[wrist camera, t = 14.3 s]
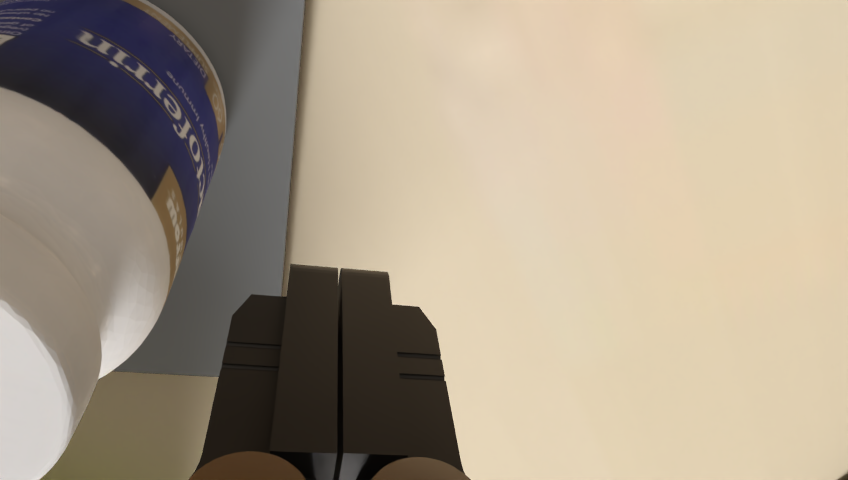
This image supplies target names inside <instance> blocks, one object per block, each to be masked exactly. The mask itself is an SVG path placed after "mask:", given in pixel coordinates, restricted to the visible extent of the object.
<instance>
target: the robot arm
mask: <svg viewBox="0 0 848 480" xmlns="http://www.w3.org/2000/svg"><path fill="white" fill-rule="evenodd" d="M440 356H441V354H440V348H439V343H438V338H437V332H436V329H435V328H434V326H433V325H432V324H431V322H430V321H429V320H428V318H427V317H426V316H425V314H424V313H423V312H422V310H421V309H420V308H419V307H415V306H402V305H392V300H391V291H390V282H389V275H388V272H379V271H368V270H356V269H344V268H341V271H340V276H339V283H338V268H331V267H319V266H307V265H296V264H290V273H289V282H288V291H287V297H282V296H269V295H256V294H251V295H250V296H249V298H248V299H247V300H246V301H245V302H244V303H243V304H242V305H241V306H240V307H239V308H238V310H237V311H236V312H235V313H234V314H233V315H232V319H231V323H230V328H229V333H228V337H227V343H226V347H225V351H224V356H223V360H222V367H221V370H220V374H219V379H218V383H217V388H216V393H215V397H214V402H213V407H212V411H211V416H210V420H209V425H208V430H207V434H206V439H205V444H204V448H203V453H202V456H201V459H200V462H199V464H198V466H197V468H196V470H195V472H194V473H193V475H192V476H191V477H190V478H189V480H470V479H469V478H468V477H467V476H466V475H465V473H464V471H463V468H462V464H461V460H460V455H459V450H458V444H457V439H456V434H455V428H454V423H453V418H452V412H451V407H450V402H449V396H448V391H447V386H446V381H444V376H445V375H444V370H443V364H442V360H440Z"/></svg>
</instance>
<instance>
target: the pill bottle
mask: <svg viewBox="0 0 848 480" xmlns="http://www.w3.org/2000/svg"><path fill="white" fill-rule="evenodd" d="M225 133H226V106H225V99H224V94H223V90H222V87H221V83H220V81H219V78H218V76H217V74H216V71H215V69H214V67H213V65H212V64H211V62H210V60H209V58H208V57H207V55H206V54H205V52H204V51H203V49H202V48H201V47H200V45H199V44H198V43H197V42H196V40H195V39H194V38H193V37H192V36H191V35H190V34H189V33H188V32H187V31H186V30H185V29H184V27H183V26H182V25H180V24H179V23H178V22H177V21H176V20H175V19H173V18H172V17H171V16H170V15H168V14H167V13H166V12H164V11H163V10H161V9H160V8H158V7H157V6H155V5H154V4H152V3H150V2H149V1H147V0H4V1H2V2H0V480H39V479H41V478H42V477H43V476H44V475H45V474H46V473H47V472H48V471H49V470H50V469H51V468H52V467H53V466H54V465H55V464H56V462H57V461H58V460H59V458H60V457H61V455H62V454H63V452H64V451H65V449H66V448H67V446H68V444H69V442H70V440H71V438H72V436H73V434H74V432H75V430H76V428H77V426H78V424H79V422H80V420H81V418H82V416H83V414H84V412H85V410H86V408H87V406H88V403H89V401H90V399H91V396H92V394H93V391H94V389H95V386H96V384H97V382H98V379H100V378H102V377H103V376H105V375H107V374H108V373H109V372H111V371H112V370H114V369H115V368H116V367H118V366H119V365H120V364H122V363H123V362H124V361H126V360H127V359H128V358H129V357H130V356H131V355H132V354H133V353H134V352H135V351H136V350H137V349H138V347H139V346H140V345H141V344H142V343H143V341H144V340H145V338H146V337H147V336H148V334H149V333H150V331H151V330H152V328H153V327H154V325H155V323H156V321H157V320H158V317H159V315H160V313H161V311H162V309H163V306H164V304H165V302H166V299H167V297H168V294H169V292H170V289H171V286H172V284H173V281H174V278H175V276H176V273H177V270H178V268H179V265H180V262H181V260H182V257H183V254H184V251H185V249H186V246H187V243H188V241H189V238H190V235H191V233H192V231H193V228H194V225H195V222H196V220H197V217H198V214H199V212H200V209H201V206H202V203H203V201H204V198H205V195H206V193H207V190H208V187H209V184H210V182H211V179H212V177H213V174H214V172H215V169H216V166H217V163H218V161H219V158H220V155H221V151H222V148H223V143H224V138H225Z"/></svg>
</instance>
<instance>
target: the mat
mask: <svg viewBox="0 0 848 480" xmlns="http://www.w3.org/2000/svg"><path fill="white" fill-rule="evenodd" d="M2 1H4V0H0V2H2ZM147 1H149V2H150V3H152V4H154V5H155V6H157V7H158V8H160V9H161V10H163V11H164V12H166V13H167V14H168V15H170V16H171V17H172V18H173V19H175V20H176V21H177V22H178V23H179V24H180V25H182V26H183V27H184V29H185V30H186V31H187V32H188V33H189V34H190V35H191V36H192V37H193V38H194V39H195V40H196V42H197V43H198V44H199V45H200V47H201V48H202V49H203V51H204V52H205V54H206V55H207V57H208V58H209V60H210V62H211V64H212V65H213V67H214V69H215V71H216V74H217V76H218V78H219V81H220V83H221V87H222V90H223V94H224V99H225V106H226V133H225V138H224V143H223V148H222V151H221V155H220V158H219V161H218V163H217V166H216V169H215V172H214V174H213V177H212V179H211V182H210V184H209V187H208V190H207V193H206V195H205V198H204V201H203V203H202V206H201V209H200V212H199V214H198V217H197V220H196V222H195V225H194V228H193V231H192V233H191V235H190V238H189V241H188V243H187V246H186V249H185V251H184V254H183V257H182V260H181V262H180V265H179V268H178V270H177V273H176V276H175V278H174V281H173V284H172V286H171V289H170V292H169V294H168V297H167V299H166V302H165V304H164V306H163V309H162V311H161V313H160V315H159V317H158V320H157V321H156V323H155V325H154V327H153V328H152V330H151V331H150V333H149V334H148V336H147V337H146V338H145V340H144V341H143V343H142V344H141V345H140V346H139V347H138V349H137V350H136V351H135V352H134V353H133V354H132V355H131V356H130V357H129V358H128V359H127V360H126V361H124V362H123V363H122V364H120V365H119V366H118V367H116V368H115V369H114V370H112V371H119V372H137V373H155V374H173V375H191V376H209V377H219V374H220V370H221V367H222V360H223V356H224V351H225V347H226V343H227V337H228V333H229V328H230V323H231V319H232V315H233V314H234V313H235V312H236V311H237V310H238V308H239V307H240V306H241V305H242V304H243V303H244V302H245V301H246V300H247V299H248V298H249V296H250V295H251V294H256V295H269V296H282V284H283V272H284V259H285V247H286V234H287V222H288V210H289V197H290V185H291V173H292V160H293V148H294V136H295V123H296V111H297V98H298V86H299V74H300V61H301V49H302V37H303V24H304V12H305V0H147Z"/></svg>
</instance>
